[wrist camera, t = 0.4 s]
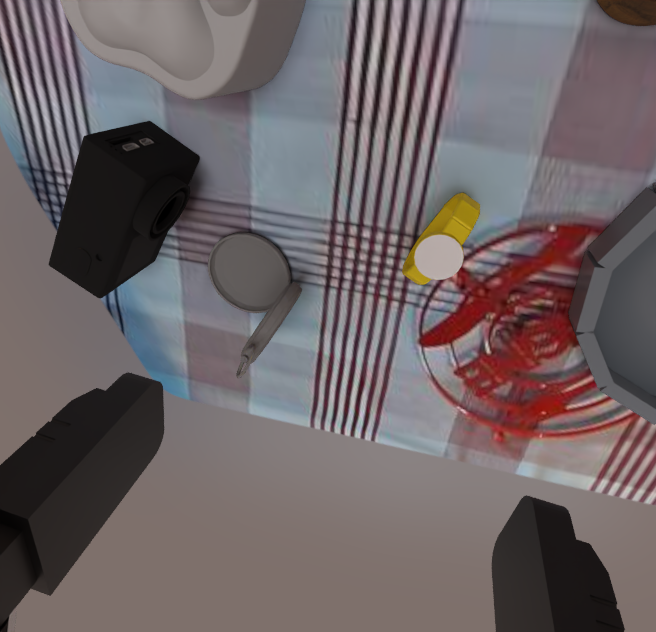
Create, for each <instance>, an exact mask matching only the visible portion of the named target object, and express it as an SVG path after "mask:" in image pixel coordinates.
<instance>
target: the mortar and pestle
mask: <svg viewBox="0 0 656 632" xmlns="http://www.w3.org/2000/svg"><path fill="white" fill-rule="evenodd" d="M597 1H598V3H599V5H600V6H601V7H602V9H603V10H604V11H605V12H606V13H607V14H608V15H609V16H611V17H612V18H614V19H615V20H618V21H620V22H622V23H626V24H630V25H636V26H648V25H656V0H597Z"/></svg>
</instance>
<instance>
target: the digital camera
mask: <svg viewBox="0 0 656 632" xmlns="http://www.w3.org/2000/svg"><path fill="white" fill-rule="evenodd" d="M199 159H200V157H199V156H198V155H197V154H196V153H194V152H193V151H191V150H190V149H189V148H187V147H186V146H184V145H183V144H182V143H180V142H179V141H177V140H176V139H175V138H173V137H172V136H170V135H169V134H168V133H166V132H165V131H163V130H162V129H160V128H159V127H158V126H156V125H155V124H153V123H152V122H151V121H147V122H142V123H138V124H133V125H129V126H125V127H120V128H116V129H111V130H107V131H102V132H98V133H94V134H90V135H86V136H84V138H83V141H82V145H81V148H80V152H79V155H78V159H77V162H76V165H75V169H74V173H73V176H72V180H71V184H70V187H69V191H68V194H67V198H66V202H65V205H64V209H63V213H62V216H61V220H60V223H59V227H58V231H57V235H56V239H55V242H54V246H53V250H52V254H51V257H50V261H49V265H50V267H52V268H54V269H55V270H57V271H58V272H60V273H61V274H63V275H64V276H66V277H67V278H69V279H70V280H72V281H73V282H75V283H77V284H78V285H79V286H81V287H82V288H84V289H86V290H87V291H88V292H90V293H92V294H93V295H95V296H96V297H98V298H102V297H104V296H105V295H107V294H108V293H110V292H111V291H113V290H114V289H115V288H117V287H118V286H120V285H121V284H123V283H124V282H125V281H127V280H128V279H130V278H131V277H133V276H134V275H135V274H137V273H138V272H140V271H141V270H143V269H144V268H145V267H147V266H148V265H150V264H151V263H153V262H154V261H155V259H156V257H157V254H158V252H159V250H160V248H161V245H162V243H163V241H164V239H165V236H166V234H167V232H168V230H169V229H170V228H171V227H172V226H173V225H174V223H175V222H176V221H177V219H178V218H179V216H180V215H181V213H182V211H183V210H184V208H185V206H186V204H187V201H188V198H189V195H190V187H189V186H188V184H189V182H190V180H191V178H192V175H193V173H194V171H195V169H196V166H197V164H198V162H199Z"/></svg>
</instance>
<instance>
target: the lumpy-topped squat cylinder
mask: <svg viewBox="0 0 656 632" xmlns="http://www.w3.org/2000/svg"><path fill="white" fill-rule="evenodd" d="M305 2H306V0H61V4H62V7H63V10H64V12H65V15H66V17H67V19H68V21H69V23H70V25H71V27H72V29H73V30H74V32H75V33H76V35H77V37H78V38H79V39H80V41H81V42H82V43H83V45H84V46H85V47H86V48H87V49H88V50H89V51H90V52H91V53H93V54H94V55H95V56H97V57H99V58H100V59H102V60H105V61H107V62H109V63H112V64H115V65H120V66H124V67H128V68H132V69H135V70H137V71H140V72H142V73H144V74H146V75H148V76H150V77H151V78H153V79H155V80H156V81H157V82H159V83H160V84H162V85H163V86H165V87H166V88H167V89H169V90H170V91H172V92H174V93H176V94H178V95H180V96H182V97H185V98H188V99H193V100H202V99H207V98H213V97H218V96H223V95H228V94H233V93H238V92H243V91H248V90H253V89H257V88H259V87H261V86H263V85H265V84H266V83H268V82H269V81H270V80H271V79H273V78H274V76H275V75H276V74H277V73H278V72H279V70H280V69H281V67H282V65H283V63H284V61H285V59H286V57H287V55H288V52H289V50H290V47H291V44H292V42H293V39H294V36H295V34H296V31H297V28H298V25H299V22H300V19H301V16H302V13H303V9H304V6H305Z"/></svg>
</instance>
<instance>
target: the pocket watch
mask: <svg viewBox="0 0 656 632" xmlns="http://www.w3.org/2000/svg"><path fill="white" fill-rule="evenodd" d="M208 272H209V276H210V279H211V282H212V284H213V286H214V288H215V289H216V291H217V292H218V294H219V295H220V296H221V297H222V298H223V299H224V300H225V301H226V302H227V303H229V304H230V305H232V306H233V307H235V308H238V309H240V310H242V311H245V312H250V313H262V312H267V311H268V312H267V314H266V315H265V317H264V318H263V319H262V321H261V322H260V324H259V325H258V327H257V328H256V330H255V331H254V333H253V335H252V336H251V337H250V339H249V340H248V342H247V344H246V345H245V347H244V348H243V350H242V353H241V361H242V362H241V363H240V366H239V368H238V371H237V378H241V377H242V376H243V375H244V373H245V372H246V370H247V369H248V367H249V366H250V364H251V363H253V362H254V361H255V360H256V358H257V357H258V356H259V355H260V353H261V352H262V351H263V349H264V348H265V347H266V345H267V344H268V343H269V341H270V340H271V338H272V337H273V335H274V334H275V332H276V331H277V330H278V328H279V327H280V325H281V324H282V322H283V321H284V319H285V318H286V316H287V315H288V313H289V312H290V310H291V309H292V307H293V305H294V304H295V302H296V301H297V299H298V297H299V296H300V294H301V291H302V288H301V287H300V286H299V285H298V284H297V283H296V282H295V281H294V282H293V283H290V280H291V277H290V270H289V267H288V264H287V261H286V259H285V258H284V256H283V255H282V253H281V252H280V250H279V249H278V248H277V247H276V246H275V245H274V244H272V243H271V242H270V241H268V240H267V239H265V238H263V237H261V236H259V235H255V234H252V233H233V234H231V235H228V236H227V237H225V238H223V239H221V240H220V241H219V242H218V243H217V244H216V245H215V246H214V247H213V249H212V251H211V253H210V256H209V260H208ZM247 362H248V363H247ZM244 363H247V364H246V366H245V368H244V369H243V371H242V372H241V369H242V367H243V365H244ZM240 372H241V373H240Z"/></svg>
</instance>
